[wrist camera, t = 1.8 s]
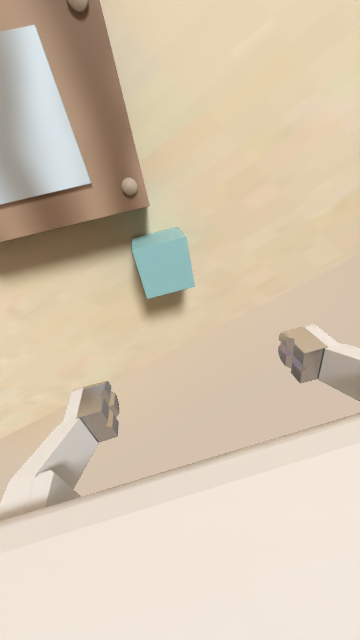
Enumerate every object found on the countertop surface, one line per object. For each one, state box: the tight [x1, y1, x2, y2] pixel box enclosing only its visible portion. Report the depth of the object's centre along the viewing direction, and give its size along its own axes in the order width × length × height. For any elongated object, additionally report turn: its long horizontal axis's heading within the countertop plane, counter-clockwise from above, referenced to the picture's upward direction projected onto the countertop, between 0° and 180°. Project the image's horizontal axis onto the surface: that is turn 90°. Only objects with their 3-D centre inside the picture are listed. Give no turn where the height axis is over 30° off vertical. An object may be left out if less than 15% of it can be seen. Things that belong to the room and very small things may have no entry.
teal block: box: [132, 227, 195, 299], centre depth 24 cm, size 5×5×5 cm
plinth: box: [0, 0, 150, 242], centre depth 17 cm, size 16×13×4 cm
